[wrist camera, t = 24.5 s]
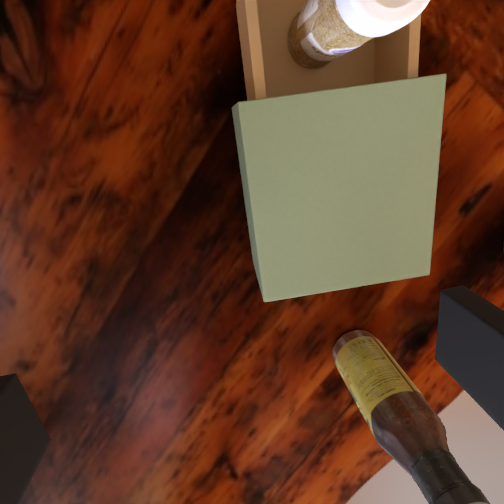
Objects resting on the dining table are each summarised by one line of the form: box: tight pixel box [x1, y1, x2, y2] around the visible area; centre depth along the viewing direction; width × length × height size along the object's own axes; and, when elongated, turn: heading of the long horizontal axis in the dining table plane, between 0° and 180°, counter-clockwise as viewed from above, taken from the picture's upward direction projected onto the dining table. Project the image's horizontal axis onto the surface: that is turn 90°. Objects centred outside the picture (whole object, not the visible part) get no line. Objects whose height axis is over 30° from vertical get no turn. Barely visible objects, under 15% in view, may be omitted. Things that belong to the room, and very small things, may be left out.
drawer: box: [236, 0, 421, 101], centre depth 24 cm, size 21×14×7 cm, turn 7°
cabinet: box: [232, 74, 446, 302], centre depth 30 cm, size 16×15×9 cm
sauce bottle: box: [333, 330, 490, 504], centre depth 33 cm, size 7×6×20 cm
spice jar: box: [288, 0, 430, 69], centre depth 21 cm, size 5×5×14 cm
